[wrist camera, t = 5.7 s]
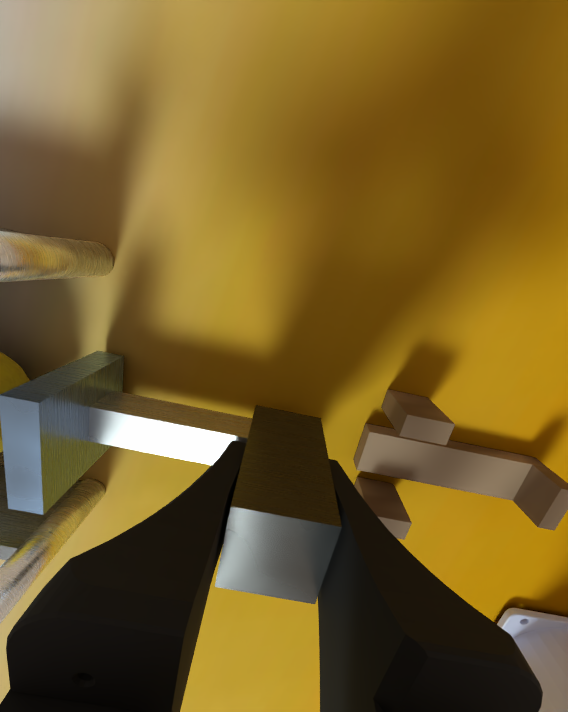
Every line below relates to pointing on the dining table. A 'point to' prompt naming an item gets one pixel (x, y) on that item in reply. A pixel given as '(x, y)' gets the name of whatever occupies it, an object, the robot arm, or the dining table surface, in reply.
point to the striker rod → (189, 442)
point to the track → (448, 466)
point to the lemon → (9, 379)
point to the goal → (4, 526)
